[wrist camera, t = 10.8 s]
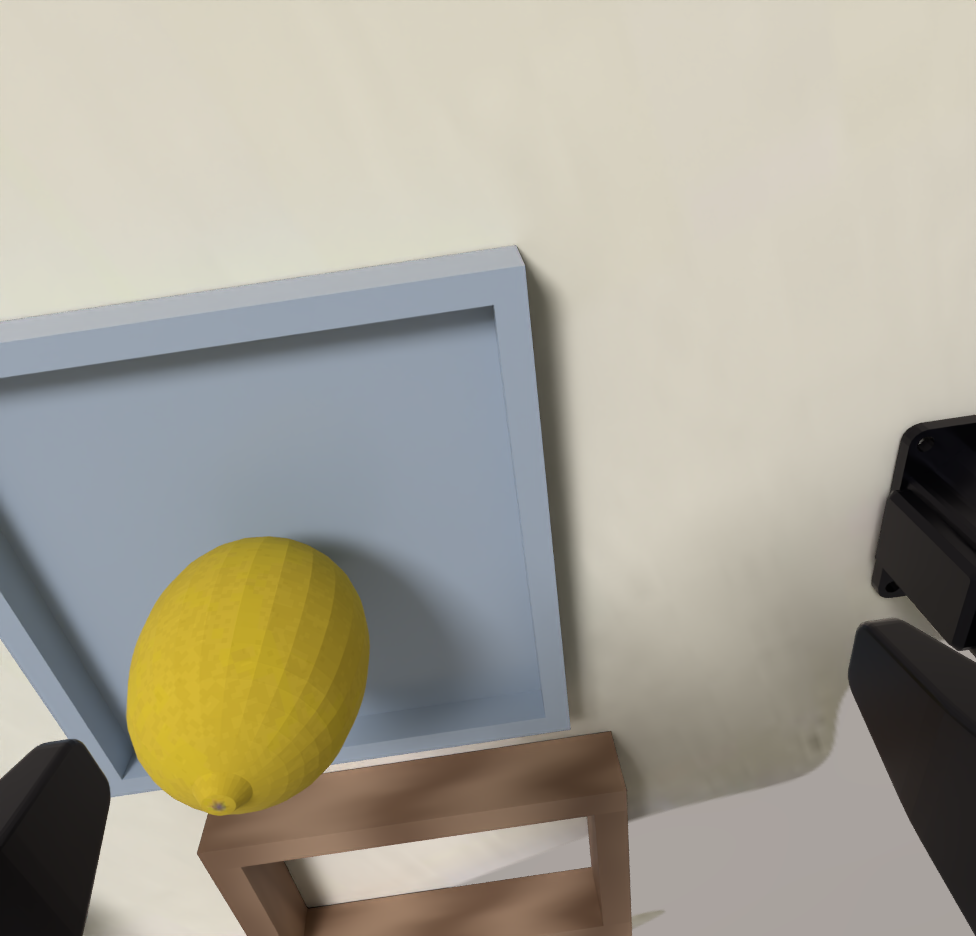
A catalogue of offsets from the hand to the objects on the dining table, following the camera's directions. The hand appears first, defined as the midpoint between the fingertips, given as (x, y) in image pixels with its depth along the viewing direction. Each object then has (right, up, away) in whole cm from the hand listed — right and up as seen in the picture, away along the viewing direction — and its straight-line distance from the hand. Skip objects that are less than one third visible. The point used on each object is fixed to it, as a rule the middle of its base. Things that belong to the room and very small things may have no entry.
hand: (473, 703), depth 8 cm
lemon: (-6, 0, +13) cm, 14 cm away
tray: (-6, 0, +13) cm, 15 cm away
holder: (-2, -13, +22) cm, 25 cm away
